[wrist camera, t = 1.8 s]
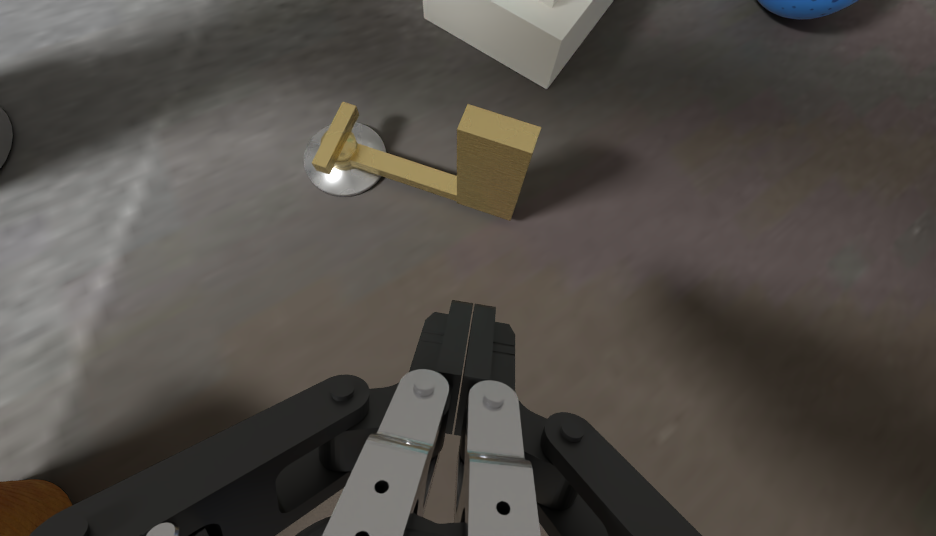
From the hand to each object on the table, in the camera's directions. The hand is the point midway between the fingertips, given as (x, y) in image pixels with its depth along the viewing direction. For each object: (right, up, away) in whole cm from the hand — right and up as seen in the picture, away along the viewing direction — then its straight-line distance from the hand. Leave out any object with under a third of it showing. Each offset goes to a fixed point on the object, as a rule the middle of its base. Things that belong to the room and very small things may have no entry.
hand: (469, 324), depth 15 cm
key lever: (-4, +8, +17) cm, 19 cm away
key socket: (-9, +10, +17) cm, 22 cm away
